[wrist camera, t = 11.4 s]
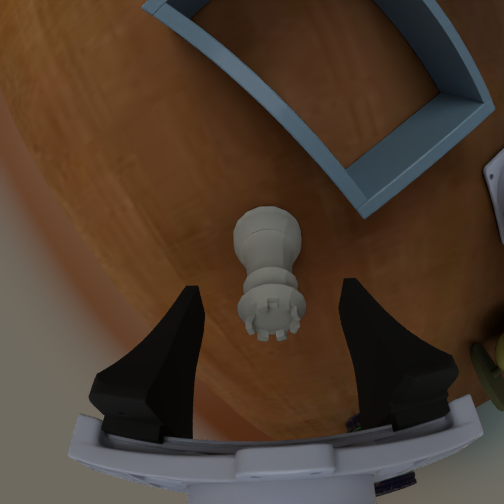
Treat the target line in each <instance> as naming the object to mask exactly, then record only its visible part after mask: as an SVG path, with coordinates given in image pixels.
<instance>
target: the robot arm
mask: <svg viewBox="0 0 504 504" xmlns="http://www.w3.org/2000/svg"><path fill="white" fill-rule="evenodd" d="M483 173H484V177H485V180H486V183H487V186H488V189H489V193H490V196H491V200H492V203H493V207H494V211H495V215H496V219H497V223H498V228H499V233H500V238H501V242H502V244H503V245H504V148H503V149H502V150H501V151H500V152H499V153H498V154H497V155H496V156H495V157H494V158H493V159H492V160H491V161H490V162H489V163H488V164H487V165H486V166H485V167H484V170H483ZM338 308H339V314H340V320H341V325H342V328H343V332H344V335H345V338H346V341H347V345H348V348H349V351H350V354H351V358H352V361H353V365H354V370H355V376H356V383H357V390H358V398H359V409H360V426H361V431H357V432H352V433H346V434H339V435H332V436H325V437H317V438H307V439H296V440H282V441H254V442H253V441H251V442H240V441H239V442H237V441H236V442H235V441H209V440H195V439H193V422H192V421H193V396H194V382H195V373H196V367H197V362H198V357H199V352H200V347H201V343H202V338H203V333H204V322H205V312H204V308H203V304H202V300H201V296H200V291H199V287H198V286H186V287H185V288H184V289H183V291H182V292H181V294H180V295H179V297H178V298H177V300H176V301H175V302H174V304H173V305H172V307H171V308H170V309H169V311H168V312H167V313H166V315H165V316H164V317H163V318H162V320H161V321H160V322H159V323H158V324H157V326H156V327H155V328H154V329H153V330H152V331H151V333H150V334H149V335H148V336H147V337H146V338H145V339H144V340H143V341H142V342H141V343H140V344H138V345H137V346H136V347H135V348H134V349H133V350H132V351H130V352H129V353H128V354H127V355H125V356H124V357H123V358H121V359H120V360H119V361H117V362H116V363H114V364H113V365H111V366H110V367H108V368H106V369H105V370H103V371H101V372H100V373H98V374H97V375H96V377H95V379H94V382H93V385H92V388H91V391H90V394H89V400H90V402H91V403H92V404H93V405H94V406H95V407H96V408H97V409H98V410H99V411H100V412H101V413H102V414H103V415H105V416H104V420H103V421H102V420H100V419H98V418H95V417H91V416H87V415H83V414H79V416H78V419H77V422H76V425H75V429H74V432H73V435H72V439H71V442H70V446H69V450H68V454H67V455H68V456H69V457H71V458H72V459H74V460H76V461H78V462H80V463H82V464H84V465H85V466H87V467H89V468H91V469H93V470H96V471H99V472H102V473H105V474H108V475H111V476H115V477H119V478H122V479H125V480H129V481H133V482H136V483H140V484H144V485H148V486H153V487H157V488H162V489H166V490H172V491H177V492H183V493H188V497H187V504H376V496H375V489H374V483H375V482H378V481H382V480H385V479H388V478H392V477H395V476H398V475H401V474H404V473H407V472H409V471H412V470H415V469H417V468H420V467H423V466H425V465H428V464H430V463H433V462H435V461H438V460H440V459H442V458H445V457H447V456H449V455H451V454H454V453H456V452H458V451H460V450H461V449H463V448H464V447H466V446H467V445H469V444H470V443H472V442H473V441H475V440H476V439H478V438H479V437H480V436H482V435H483V429H482V426H481V424H480V420H479V418H478V415H477V412H476V409H475V406H474V404H473V401H472V398H471V396H470V394H467V395H465V396H462V397H460V398H457V399H455V400H452V401H451V402H449V403H448V402H447V399H446V398H448V392H447V389H448V388H449V387H450V386H451V385H452V383H453V382H454V381H455V380H456V378H457V377H458V374H459V370H458V367H457V365H456V363H455V361H454V359H453V357H452V355H449V354H447V353H445V352H443V351H441V350H439V349H437V348H435V347H433V346H431V345H430V344H428V343H426V342H425V341H423V340H421V339H420V338H418V337H417V336H415V335H414V334H413V333H411V332H410V331H408V330H407V329H406V328H405V327H403V326H402V325H401V324H400V323H398V322H397V321H396V320H395V319H394V318H393V317H392V316H391V315H390V314H388V313H387V312H386V311H385V310H384V309H383V308H382V307H381V306H380V304H379V303H378V302H377V301H376V300H375V299H374V298H373V297H372V296H371V295H370V294H369V293H368V291H367V290H366V289H365V288H364V287H363V286H362V285H361V284H360V282H359V281H358V280H357V279H356V278H346V279H344V281H343V286H342V292H341V297H340V302H339V307H338Z"/></svg>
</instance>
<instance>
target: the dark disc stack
mask: <svg viewBox="0 0 504 504" xmlns="http://www.w3.org/2000/svg"><path fill="white" fill-rule="evenodd" d="M346 426H347V428H348V433H352V432H357V431H361V426H360V413H359V414H357V415H355V416H353V417H352V418H350V419H349V420H348V421H347V423H346ZM412 471H413V470H412ZM416 483H417V482H416V479H415V472H411V471H409V472H407V473H404V474H401V475H398V476H395V477H392V478H388V479H385V480H382V481H378V482H375V483H374V489H375V496H376V497H377V496H380V495H384V494H388V493H391V492H394V491H397V490H400V489H403V488H406V487H408V486H411V485H413V484H416Z"/></svg>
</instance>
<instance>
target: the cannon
mask: <svg viewBox="0 0 504 504" xmlns="http://www.w3.org/2000/svg"><path fill="white" fill-rule="evenodd" d="M470 356H471V360H472V363H473V366H474V368H475V371H476V373H477V375H478V378H479V380H480V382H481V384H482V386H483V388H484V390H485V391H486V393H487V395H488V396H489V398H490V400H491V401H492V402H493V404H494V405H495V406H496V407H497V408H498V409H499V410H500V411H503V410H504V380H503V378H502V376H501V373H502V372H504V332H503V333H502V334H501V336H500V337H499V339H498V341H497V343H496V347H495V361H496V363H497V366H496V365H495V363H494V361H493V360H492V358H491V357H490V355H489V354H488V353H487V352H486V350H485V349H484V348H483V347H482V346H481V345H480V344H478V343H475V344H474V345H472V346H471V347H470Z"/></svg>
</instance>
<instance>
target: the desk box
mask: <svg viewBox="0 0 504 504" xmlns="http://www.w3.org/2000/svg"><path fill="white" fill-rule="evenodd" d="M209 1H210V0H148V1H147V2H146V3H145V4H144V5H143V6H142V7H141V8H142V9H143V10H145V11H146V12H148V13H149V14H151V15H152V16H153V17H155V18H156V19H158V20H159V21H161V22H162V23H164V24H165V25H166V26H168V27H169V28H170V29H172V30H173V31H175V32H176V33H177V34H179V35H180V36H181V37H183V38H184V39H185V40H187V41H188V42H189V43H190V44H192V45H193V46H194V47H195V48H197V49H198V50H199V51H201V52H202V53H203V54H204V55H205V56H207V57H208V58H209V59H210V60H212V61H213V62H214V63H215V64H216V65H217V66H219V67H220V68H221V69H222V70H223V71H224V72H226V73H227V74H228V75H229V76H230V77H231V78H232V79H234V80H235V81H236V82H237V83H238V84H239V85H240V86H241V87H243V88H244V89H245V90H246V91H247V92H248V93H249V94H250V95H251V96H252V97H253V98H254V99H255V100H256V101H258V102H259V103H260V104H261V105H262V106H263V107H264V108H265V109H266V110H267V111H268V112H269V113H270V114H271V115H272V116H273V117H274V118H275V119H276V120H277V121H278V122H279V123H280V124H281V125H282V126H283V127H284V128H285V129H286V130H287V131H288V132H289V133H290V134H291V135H292V136H293V138H294V139H295V140H296V141H297V142H298V143H299V144H300V145H301V146H302V147H303V148H304V149H305V150H306V152H307V153H308V154H309V155H310V156H311V157H312V158H313V159H314V160H315V161H316V163H317V164H318V165H319V166H320V167H321V168H322V169H323V171H324V172H325V173H326V174H327V175H328V176H329V178H330V179H331V180H332V181H333V182H334V183H335V185H336V186H337V187H338V188H339V189H340V191H341V192H342V193H343V194H344V195H345V197H346V198H347V199H348V200H349V202H350V203H351V204H352V205H353V207H354V208H355V209H356V210H357V212H358V213H359V214H360V216H361V217H362V218H363V219H366V218H367V217H369V216H370V215H371V214H372V213H374V212H375V211H376V210H378V209H379V208H380V207H381V206H383V205H384V204H385V203H386V202H388V201H389V200H390V199H391V198H393V197H394V196H395V195H396V194H398V193H399V192H400V191H401V190H403V189H404V188H405V187H406V186H408V185H409V184H410V183H411V182H412V181H414V180H415V179H416V178H417V177H419V176H420V175H421V174H422V173H423V172H425V171H426V170H427V169H428V168H429V167H431V166H432V165H433V164H434V163H435V162H436V161H438V160H439V159H440V158H441V157H442V156H443V155H445V154H446V153H447V152H448V151H449V150H450V149H452V148H453V147H454V146H455V145H456V144H457V143H459V142H460V141H461V140H462V139H463V138H464V137H465V136H467V135H468V134H469V133H470V132H471V131H472V130H473V129H474V128H475V127H477V126H478V125H479V124H480V123H481V122H482V121H483V120H484V119H485V118H487V117H488V116H489V115H490V114H491V113H492V112H493V111H494V110H495V107H494V104H493V102H492V99H491V98H490V97H491V96H490V94H489V92H488V89H487V87H486V85H485V83H484V81H483V78H482V76H481V74H480V72H479V70H478V68H477V66H476V64H475V62H474V61H473V59H472V57H471V55H470V53H469V51H468V50H467V48H466V46H465V44H464V43H463V41H462V39H461V38H460V36H459V35H458V33H457V31H456V30H455V28H454V27H453V25H452V24H451V22H450V21H449V19H448V18H447V16H446V15H445V13H444V12H443V11H442V9H441V8H440V6H439V5H438V4H437V2H436V1H435V0H373V1H374V2H375V3H376V4H377V5H378V6H379V7H380V8H381V9H382V11H383V12H384V13H385V14H386V15H387V16H388V18H389V19H390V20H391V21H392V22H393V24H394V25H395V26H396V27H397V29H398V30H399V31H400V32H401V34H402V35H403V36H404V38H405V39H406V40H407V42H408V43H409V44H410V46H411V47H412V49H413V50H414V51H415V53H416V54H417V56H418V57H419V59H420V60H421V62H422V63H423V65H424V66H425V68H426V69H427V71H428V72H429V74H430V76H431V77H432V79H433V81H434V82H435V84H436V86H437V87H438V89H439V91H440V92H441V93H440V94H438V95H437V96H436V97H435V98H433V99H432V100H431V101H430V102H428V103H427V104H426V105H425V106H423V107H422V108H421V109H420V110H419V111H417V112H416V113H415V114H414V115H412V116H411V117H410V118H409V119H407V120H406V121H405V122H404V123H402V124H401V125H400V126H399V127H397V128H396V129H395V130H394V131H392V132H391V133H390V134H389V135H388V136H386V137H385V138H384V139H383V140H381V141H380V142H379V143H378V144H376V145H375V146H374V147H373V148H371V149H370V150H369V151H368V152H367V153H365V154H364V155H363V156H362V157H360V158H359V159H358V160H357V161H355V162H354V163H353V164H352V165H351V166H349V167H348V168H347V169H346V170H345V169H344V168H343V166H342V165H341V164H340V163H339V162H338V160H337V159H336V158H335V157H334V156H333V154H332V153H331V152H330V151H329V150H328V148H327V147H326V146H325V145H324V144H323V143H322V141H321V140H320V139H319V138H318V137H317V136H316V135H315V134H314V132H313V131H312V130H311V129H310V128H309V127H308V126H307V125H306V124H305V123H304V121H303V120H302V119H301V118H300V117H299V116H298V115H297V114H296V113H295V112H294V111H293V110H292V109H291V108H290V107H289V106H288V105H287V104H286V103H285V102H284V101H283V100H282V99H281V98H280V97H279V96H278V95H277V94H276V93H275V92H274V91H273V90H272V89H271V88H270V87H269V86H268V85H267V84H266V83H265V82H264V81H263V80H262V79H261V78H260V77H259V76H258V75H257V74H255V73H254V72H253V71H252V70H251V69H250V68H249V67H248V66H247V65H246V64H244V63H243V62H242V61H241V60H240V59H239V58H238V57H236V56H235V55H234V54H233V53H232V52H231V51H229V50H228V49H227V48H226V47H225V46H223V45H222V44H221V43H220V42H218V41H217V40H216V39H215V38H213V37H212V36H211V35H210V34H208V33H207V32H206V31H205V30H203V29H202V28H201V27H199V26H198V25H197V24H195V23H194V22H193V21H191V20H190V18H191V17H192V16H193V15H194V14H196V13H197V12H198V11H199V10H200V9H201V8H202V7H203V6H205V5H206V4H207V3H208V2H209Z"/></svg>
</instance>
